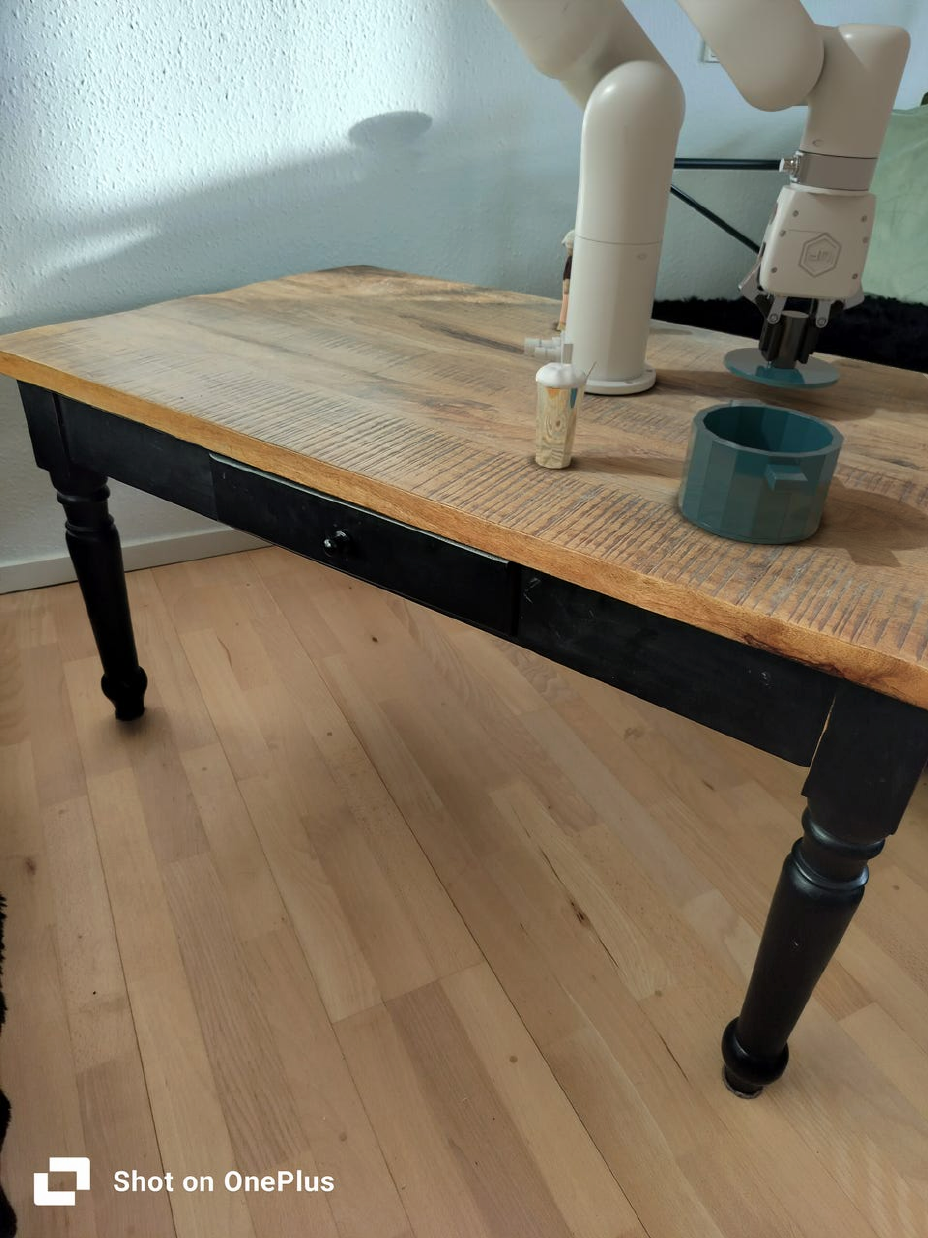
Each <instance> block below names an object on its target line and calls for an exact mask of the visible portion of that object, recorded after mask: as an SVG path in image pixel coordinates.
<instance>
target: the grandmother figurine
mask: <svg viewBox="0 0 928 1238" xmlns="http://www.w3.org/2000/svg"><path fill="white" fill-rule="evenodd" d="M574 239H575V228H574V229H571V230H570V231H569V232H568V233H566V234H565V237H564V238H563V239H562V241H561V245H562V246H563V247H565V248H566V252H567V254H568V257H567V259H566V262H565V267H564V270H563V273H562V304H561V310H560V314H559V322H558V323H557V327H556V330H557V331H560V332H561V330H565V328H566V318H567V308H568V298H569V289H570V279H571V269H572V259H573V249H574Z"/></svg>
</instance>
